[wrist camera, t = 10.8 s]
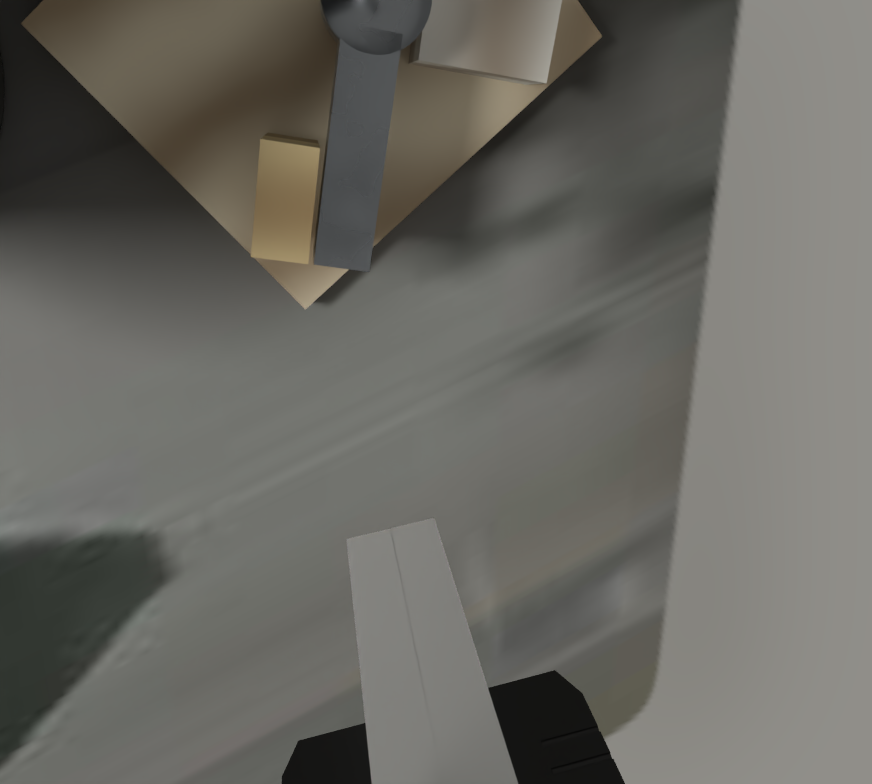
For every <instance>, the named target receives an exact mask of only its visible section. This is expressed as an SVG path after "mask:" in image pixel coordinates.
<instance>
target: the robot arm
mask: <svg viewBox="0 0 872 784" xmlns="http://www.w3.org/2000/svg"><path fill="white" fill-rule="evenodd" d="M0 1H2V0H0ZM3 110H4V75H3V66H2V60H1V54H0V130H1V125H2V118H3ZM346 540H347V550H348V559H349V569H350V579H351V588H352V598H353V608H354V617H355V627H356V637H357V646H358V656H359V666H360V675H361V685H362V695H363V704H364V714H365V723H364V724H360V725H356V726H352V727H349V728H345V729H341V730H337V731H334V732H330V733H326V734H322V735H319V736H315V737H311V738H307V739H303V740H300V741H298V743H297V745H296V747H295V749H294V752H293V754H292V756H291V758H290V760H289V763H288V765H287V767H286V769H285V771H284V773H283V776H282V784H625V783H624V781H623V779H622V776H621V774H620V772H619V770H618V768H617V766H616V764H615V762H614V759H612V757H611V755H610V751H609V749H608V747H607V745H606V742H605V740H604V738H603V736H602V734H601V732H599V730H598V726H597V723H596V721H595V719H594V717H593V715H592V713H591V711H590V709H589V706H588V704H587V702H586V700H585V698H584V696H583V694H582V693H581V692H580V691H579V690H578V689H576V688H575V687H574V686H573V685H572V684H571V683H569V682H568V681H567V680H566V679H565V678H563V677H562V676H561V675H560V674H559V673H558V672H556V671H555V670H554V671H551V672H547V673H543V674H539V675H535V676H532V677H528V678H524V679H520V680H517V681H513V682H509V683H505V684H501V685H498V686H494V687H490V688H488V687H487V683H486V680H485V677H484V674H483V671H482V668H481V665H480V661H479V658H478V655H477V652H476V649H475V646H474V642H473V639H472V636H471V633H470V630H469V627H468V623H467V620H466V617H465V614H464V611H463V608H462V604H461V601H460V598H459V595H458V592H457V589H456V586H455V582H454V579H453V576H452V573H451V570H450V567H449V563H448V560H447V557H446V554H445V551H444V548H443V544H442V541H441V538H440V535H439V532H438V529H437V526H436V522H435V519H434V518H431V519H427V520H423V521H418V522H414V523H410V524H406V525H402V526H398V527H394V528H390V529H386V530H382V531H378V532H373V533H369V534H365V535H361V536H357V537H353V538H349V539H346Z"/></svg>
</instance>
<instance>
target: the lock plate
mask: <svg viewBox="0 0 872 784" xmlns="http://www.w3.org/2000/svg"><path fill="white" fill-rule="evenodd" d="M21 24H22V25H23V26H24V27H25V28H26V29H27V30H28V31H29V32H30V33H31V34H32V35H33V36H34V37H35V38H36V39H37V40H38V41H39V42H40V43H41V44H42V45H43V46H44V47H45V48H46V49H47V50H48V51H49V52H50V53H51V54H52V55H53V56H54V57H55V58H56V59H57V60H58V61H59V62H60V63H61V64H62V65H63V66H64V67H65V68H66V69H67V70H68V71H69V72H70V73H71V75H72V76H73V77H74V78H75V79H76V80H77V81H78V82H79V83H80V84H81V85H82V86H83V87H84V88H85V89H86V90H87V91H88V92H89V93H90V94H91V95H92V96H93V97H94V98H95V99H96V100H97V101H98V102H99V103H100V104H101V105H102V106H103V107H104V108H105V109H106V110H107V111H108V112H109V113H110V114H111V115H112V116H113V117H114V118H115V119H116V120H117V121H118V122H119V123H120V124H121V125H122V126H123V127H124V128H125V129H126V130H127V131H128V132H129V133H130V134H131V135H132V136H133V137H134V138H135V139H136V140H137V141H138V142H139V143H140V144H141V145H142V146H143V147H144V148H145V149H146V150H147V151H148V152H149V153H150V154H151V155H152V156H153V157H154V158H155V159H156V160H157V161H158V162H159V163H160V164H161V165H162V166H163V167H164V168H165V169H166V170H167V171H168V172H169V173H170V174H171V175H172V176H173V177H174V178H175V179H176V180H177V181H178V182H179V183H180V184H181V185H182V186H183V187H184V188H185V189H186V190H187V191H188V192H189V193H190V194H191V195H192V196H193V197H194V198H195V199H196V200H197V201H198V202H199V203H200V204H201V205H202V206H203V207H204V208H205V209H206V210H207V211H208V212H209V213H210V214H211V215H212V216H213V217H214V218H215V219H216V220H217V221H218V222H219V223H220V224H221V225H222V226H223V227H224V228H225V229H226V230H227V231H228V232H229V233H230V234H231V235H232V236H233V237H234V238H235V239H236V240H237V241H238V242H239V243H240V244H241V245H242V246H243V247H244V248H245V249H246V250H247V251H248V252H249V253H250V254H251V257H254V258H255V259H256V260H257V261H258V262H259V263H260V264H261V265H262V266H263V267H264V268H265V269H266V270H267V271H268V272H269V273H270V274H271V275H272V276H273V277H274V278H275V279H276V280H277V281H278V282H279V283H280V284H281V285H282V286H283V287H284V288H285V289H286V290H287V291H288V292H289V293H290V295H291V296H292V297H293V298H294V299H295V300H296V301H297V302H298V303H299V304H300V305H301V306H302V307H303V308H304V309H307V308H308V307H309V306H310V305H311V304H312V303H313V302H314V301H315V300H316V299H317V298H318V297H320V296H321V295H322V294H323V293H324V292H325V291H326V290H327V289H328V288H329V287H330V286H332V285H333V284H334V283H335V282H336V281H337V280H338V279H339V278H340V277H341V276H342V275H344V274H345V273H346V272H347V271H348V270H349V269H342V268H335V267H328V266H320V265H314V260H313V248H314V240H315V231H316V223H317V214H318V206H319V197H320V189H321V180H322V171H323V163H324V154H325V146H326V137H327V129H328V120H329V112H330V103H331V95H332V86H333V78H334V69H335V61H336V52H337V43H336V42H335V40H334V39H333V38H332V37H331V35H330V34H329V32H328V30H327V28H326V26H325V24H324V22H323V18H322V15H321V10H320V0H43V1H42V2H41V3H40V4H39V5H38V6H37V7H36V8H35V9H34V10H33V11H32V12H31V13H30V14H29V15H28V16H27V18H26V19H25V20H24V21H23V22H22V23H21ZM601 37H602V35H601V34H600V32H599V31H598V29H597V28H596V26H595V25H594V23H593V22H592V20H591V19H590V18H589V16H588V15H587V13H586V12H585V10H584V9H583V7H582V6H581V4H580V3H579V1H578V0H432V6H431V11H430V15H429V18H428V21H427V23H426V25H425V27H424V29H423V30H422V32H421V33H420V35H419V36H418V37H417V38H416V39H415V40H414V41H413V42H412V43H411V44H410V45H408V46H407V47H405V48H404V49H402V50H401V51H400V58H399V65H398V72H397V79H396V87H395V94H394V101H393V108H392V115H391V122H390V129H389V136H388V143H387V150H386V157H385V164H384V171H383V179H382V186H381V193H380V200H379V207H378V214H377V221H376V228H375V235H374V242H373V247H374V246H375V245H376V244H377V243H378V242H379V241H380V240H382V239H383V238H384V237H385V236H386V235H387V234H388V233H389V232H390V231H391V230H392V229H394V228H395V227H396V226H397V225H398V224H399V223H400V222H401V221H402V220H403V219H404V218H405V217H407V216H408V215H409V214H410V213H411V212H412V211H413V210H414V209H415V208H416V207H417V206H419V205H420V204H421V203H422V202H423V201H424V200H425V199H426V198H427V197H428V196H429V195H430V194H432V193H433V192H434V191H435V190H436V189H437V188H438V187H439V186H440V185H441V184H442V183H444V182H445V181H446V180H447V179H448V178H449V177H450V176H451V175H452V174H453V173H454V172H456V171H457V170H458V169H459V168H460V167H461V166H462V165H463V164H464V163H465V162H466V161H467V160H469V159H470V158H471V157H472V156H473V155H474V154H475V153H476V152H477V151H478V150H479V149H481V148H482V147H483V146H484V145H485V144H486V143H487V142H488V141H489V140H490V139H491V138H492V137H494V136H495V135H496V134H497V133H498V132H499V131H500V130H501V129H502V128H503V127H504V126H506V125H507V124H508V123H509V122H510V121H511V120H512V119H513V118H514V117H515V116H516V115H517V114H519V113H520V112H521V111H522V110H523V109H524V108H525V107H526V106H527V105H528V104H529V103H531V102H532V101H533V100H534V99H535V98H536V97H537V96H538V95H539V94H540V93H541V92H543V91H544V90H545V89H546V88H547V87H548V86H549V85H550V84H551V83H552V82H553V81H554V80H556V79H557V78H558V77H559V76H560V75H561V74H562V73H563V72H564V71H565V70H566V69H568V68H569V67H570V66H571V65H572V64H573V63H574V62H575V61H576V60H577V59H578V58H579V57H581V56H582V55H583V54H584V53H585V52H586V51H587V50H588V49H589V48H590V47H591V46H593V45H594V44H595V43H596V42H597V41H598V40H599V39H600V38H601Z"/></svg>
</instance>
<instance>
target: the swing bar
mask: <svg viewBox="0 0 872 784" xmlns="http://www.w3.org/2000/svg"><path fill="white" fill-rule="evenodd" d="M431 6H432V0H320V10H321V15H322V18H323V22H324V24H325V26H326V28H327V30H328V32H329V34H330V35H331V37H332V38H333V39H334V40H335V42H336V43H337V52H336V61H335V69H334V78H333V86H332V95H331V103H330V112H329V120H328V129H327V137H326V146H325V154H324V163H323V171H322V180H321V189H320V197H319V206H318V214H317V223H316V231H315V240H314V248H313V260H314V265H320V266H328V267H335V268H342V269H350V270H357V271H364V272H369V270H370V263H371V256H372V249H373V242H374V235H375V228H376V221H377V214H378V207H379V200H380V193H381V186H382V179H383V171H384V164H385V157H386V150H387V143H388V136H389V129H390V122H391V115H392V108H393V101H394V94H395V87H396V79H397V72H398V65H399V58H400V51H401V50H402V49H404V48H405V47H407V46H408V45H410V44H411V43H412V42H413V41H414V40H415V39H416V38H417V37H418V36H419V35H420V33H421V32H422V30H423V29H424V27H425V25H426V23H427V21H428V18H429V15H430V11H431Z"/></svg>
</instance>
